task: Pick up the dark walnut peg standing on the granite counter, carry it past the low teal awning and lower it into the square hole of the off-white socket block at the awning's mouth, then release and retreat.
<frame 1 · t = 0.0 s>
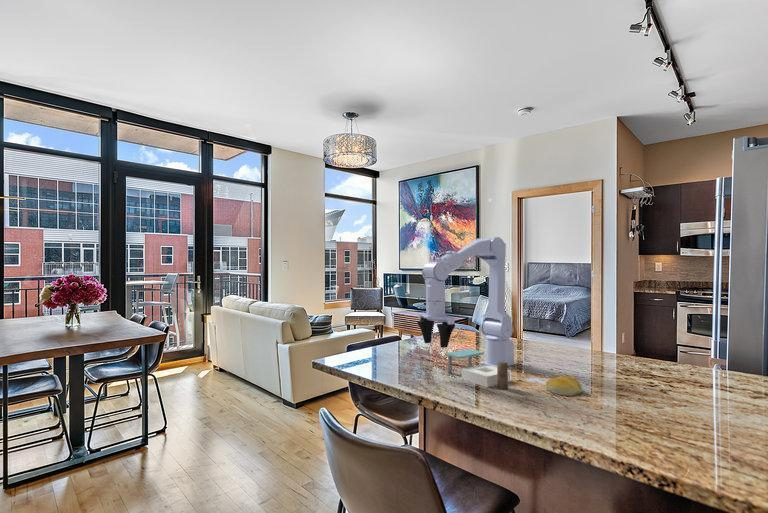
hand: (435, 345, 121), 10 cm above the countertop, fingers open, 7 cm apart
bread roll: (563, 392, 109), on the countertop
peg: (502, 388, 111), on the countertop
awning: (465, 372, 127), on the countertop
socket block: (485, 379, 119), on the countertop
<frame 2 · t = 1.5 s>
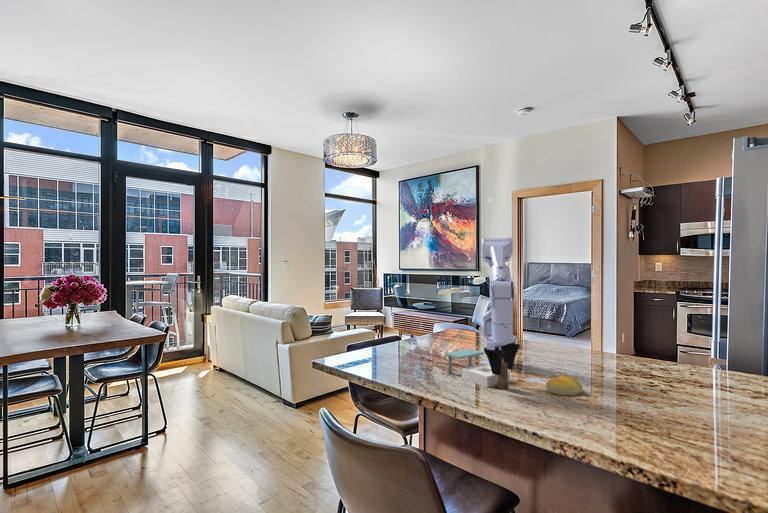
hand: (502, 371, 111), 5 cm above the countertop, fingers open, 7 cm apart
nothing on the countertop moved.
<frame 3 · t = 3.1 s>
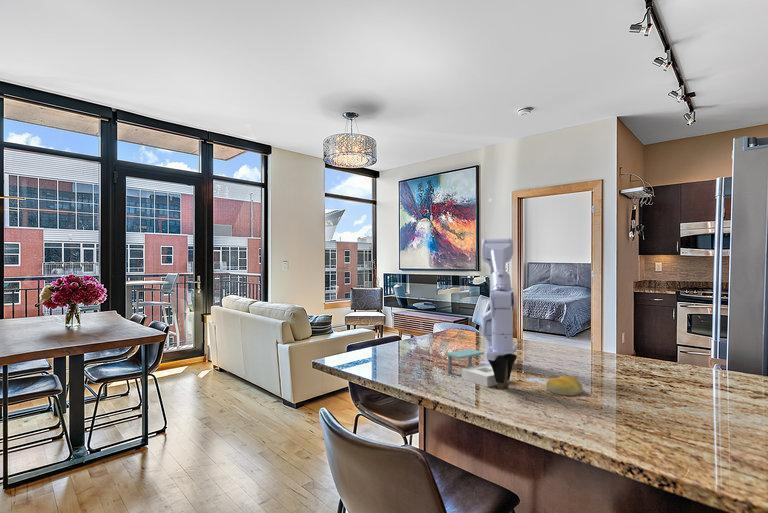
hand: (502, 381, 111), 2 cm above the countertop, fingers closed on peg, 3 cm apart
peg: (502, 388, 111), on the countertop, touching gripper
everything else where it was.
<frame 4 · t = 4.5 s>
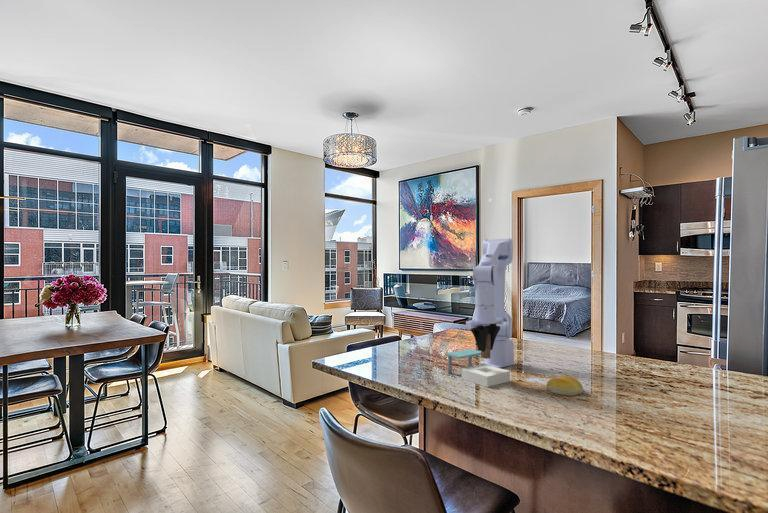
hand: (485, 350, 119), 9 cm above the countertop, fingers closed on peg, 3 cm apart
peg: (485, 357, 119), point 7 cm above the countertop, touching gripper
everything else where it was.
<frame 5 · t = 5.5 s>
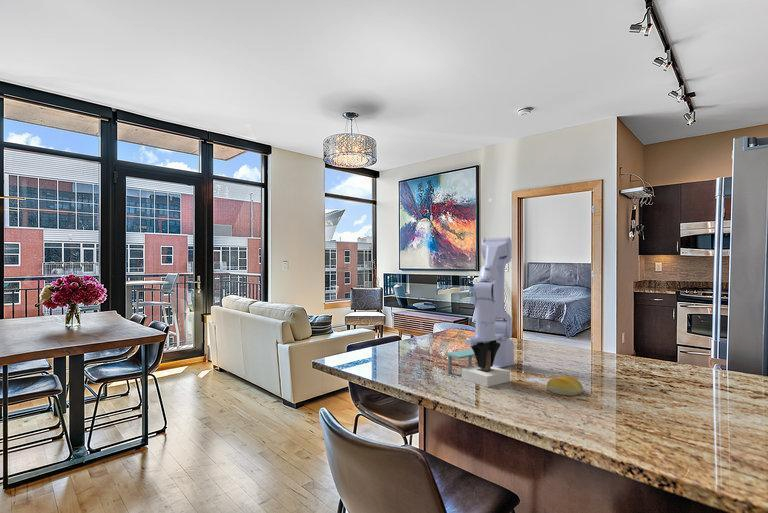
hand: (485, 366, 119), 4 cm above the countertop, fingers closed on peg, 3 cm apart
peg: (485, 374, 119), point 2 cm above the countertop, touching gripper
everything else where it was.
when the fingers open (4 cm above the countertop, at t = 6.3 s): peg drops 1 cm, resting in socket block.
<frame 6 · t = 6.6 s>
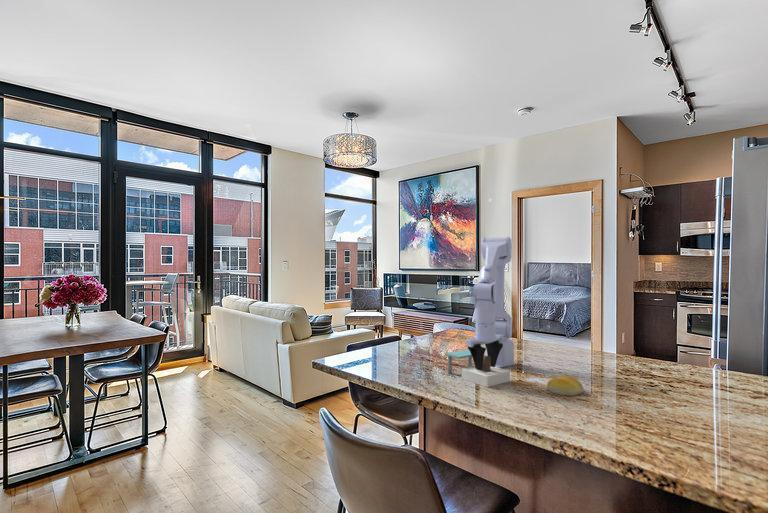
hand: (485, 367, 119), 4 cm above the countertop, fingers open, 5 cm apart
peg: (485, 380, 119), resting in socket block
everything else where it was.
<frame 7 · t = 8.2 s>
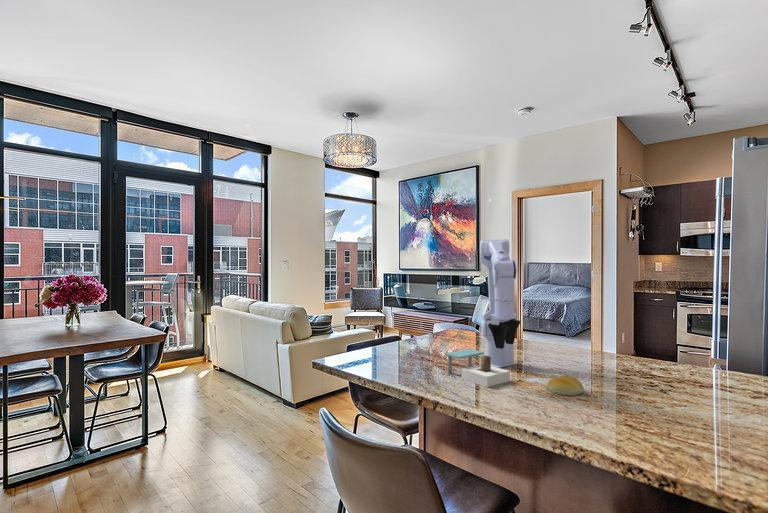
hand: (504, 346, 118), 10 cm above the countertop, fingers open, 7 cm apart
nothing on the countertop moved.
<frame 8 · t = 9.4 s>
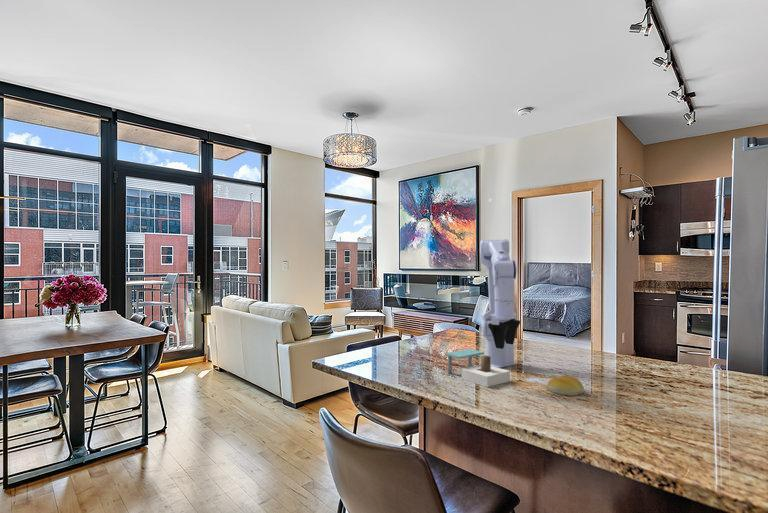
hand: (504, 346, 118), 10 cm above the countertop, fingers open, 7 cm apart
nothing on the countertop moved.
at the end: peg 0.1 cm off-centre on the socket block, point 0.0 cm above the socket block's base; peg tilted 0°; the gripper is holding nothing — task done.
